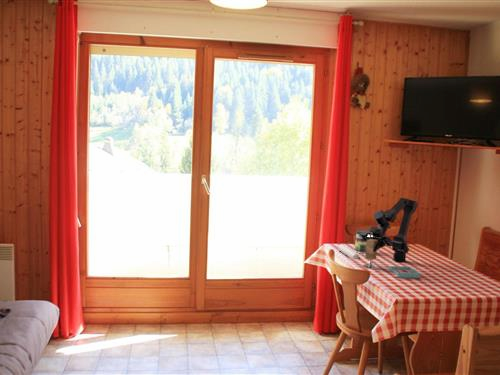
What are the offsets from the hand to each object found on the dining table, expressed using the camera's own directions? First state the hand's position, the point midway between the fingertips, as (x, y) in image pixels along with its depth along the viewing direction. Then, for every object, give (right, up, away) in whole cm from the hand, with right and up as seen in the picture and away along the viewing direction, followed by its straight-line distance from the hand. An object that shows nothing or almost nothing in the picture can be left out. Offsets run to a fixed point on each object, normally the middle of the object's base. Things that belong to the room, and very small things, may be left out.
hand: (370, 250), depth 293 cm
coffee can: (+6, -7, +45) cm, 46 cm away
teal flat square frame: (+18, -13, -6) cm, 23 cm away
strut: (+1, -5, +2) cm, 5 cm away
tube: (-6, -8, +32) cm, 33 cm away
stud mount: (0, -11, +2) cm, 12 cm away
